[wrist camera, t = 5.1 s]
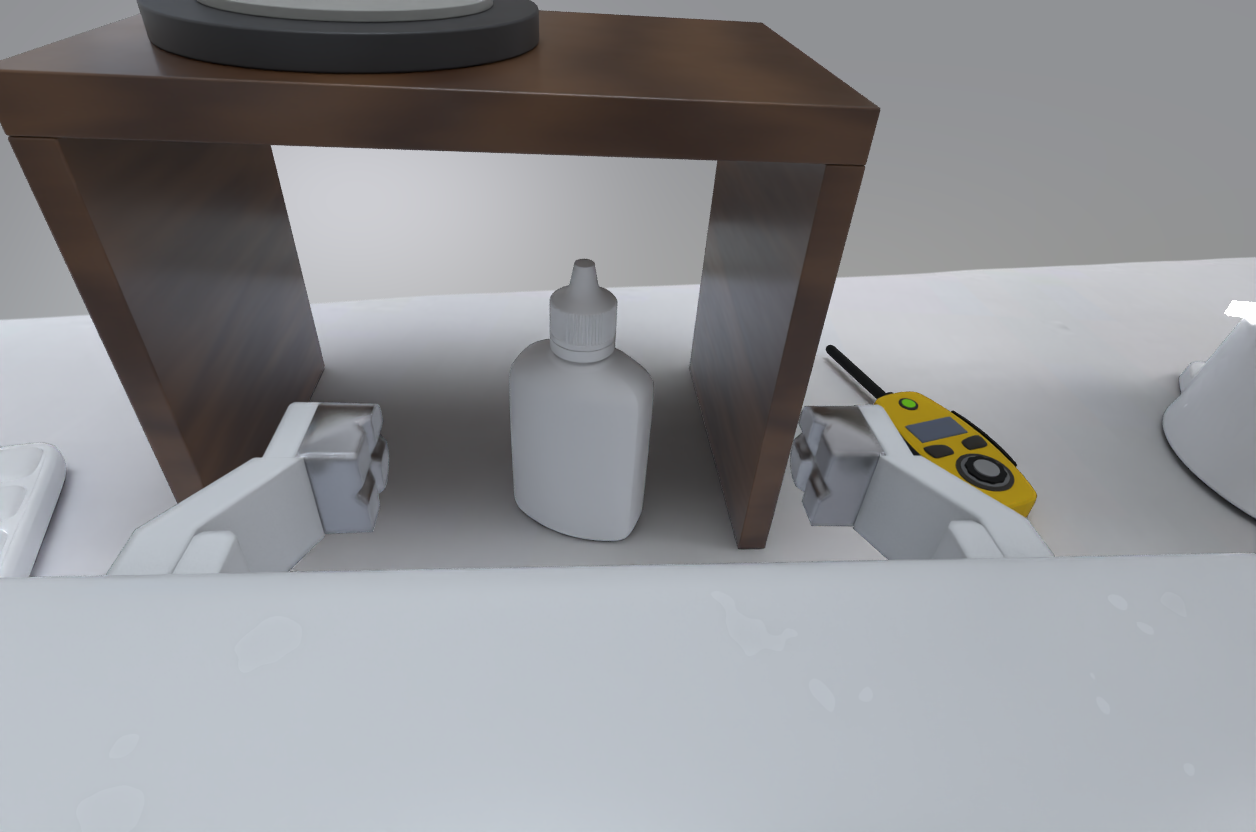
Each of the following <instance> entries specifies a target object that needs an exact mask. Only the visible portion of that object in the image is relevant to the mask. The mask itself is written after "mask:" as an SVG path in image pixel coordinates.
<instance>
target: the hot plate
mask: <svg viewBox="0 0 1256 832" xmlns="http://www.w3.org/2000/svg"><path fill="white" fill-rule="evenodd" d="M137 3H138V6H139V9H140V13H141V16H142V19H143V22H144V25H145V29H146V32H147V35H148V38H149V40H150V41H151V42H152V43H153V44H154V45H156V46H157V47H159V48H161V49H163V50H165V51H167V52H170V53H173V54H176V55H179V56H183V57H187V58H191V59H195V60H199V61H204V62H209V63H215V64H221V65H227V66H235V67H242V68H250V69H261V70H272V71H285V72H302V73H329V74H381V73H408V72H425V71H437V70H448V69H456V68H464V67H472V66H478V65H484V64H489V63H494V62H499V61H503V60H507V59H510V58H513V57H516V56H519V55H522V54H524V53H526V52H528V51H530V50H532V49H533V48H534V47H536V46H537V44H538V42H539V10H538V7H537V5H536V4H535V3H534V2H532V1H530V0H137Z"/></svg>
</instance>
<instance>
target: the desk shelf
mask: <svg viewBox="0 0 1256 832" xmlns="http://www.w3.org/2000/svg"><path fill="white" fill-rule="evenodd" d="M879 113H880V108H879V107H878V106H877V105H875V104H874V103H872V102H871V101H869V100H868V99H867V98H865V97H864V96H863V95H861V94H860V93H858V92H857V91H856V90H854V89H853V88H852V87H850V86H849V85H847V84H846V83H845V82H843V81H842V80H840V79H839V78H838V77H836V76H835V75H834V74H832V73H831V72H829V71H828V70H827V69H825V68H824V67H823V66H821V65H820V64H818V63H817V62H816V61H814V60H813V59H812V58H810V57H809V56H807V55H806V54H805V53H803V52H802V51H800V50H799V49H798V48H796V47H795V46H794V45H792V44H791V43H789V42H788V41H787V40H785V39H784V38H782V37H781V36H780V35H778V34H777V33H776V32H774V31H773V30H771V29H770V28H769V27H767V26H766V25H764V24H763V23H757V22H739V21H721V20H703V19H685V18H666V17H649V16H630V15H613V14H595V13H576V12H559V11H541V10H539V42H538V44H537V46H536V47H534V48H533V49H532V50H530V51H528V52H526V53H524V54H522V55H519V56H516V57H513V58H510V59H507V60H503V61H499V62H494V63H489V64H484V65H478V66H472V67H464V68H456V69H448V70H437V71H425V72H408V73H381V74H329V73H302V72H285V71H272V70H261V69H250V68H242V67H235V66H227V65H221V64H215V63H209V62H204V61H199V60H195V59H191V58H187V57H183V56H179V55H176V54H173V53H170V52H167V51H165V50H163V49H161V48H159V47H157V46H156V45H154V44H153V43H152V42H151V41H150V40H149V38H148V35H147V32H146V29H145V25H144V22H143V19H142V16H141V13H140V14H137V15H134V16H131V17H128V18H125V19H122V20H119V21H116V22H113V23H110V24H107V25H104V26H101V27H99V28H95V29H92V30H89V31H86V32H83V33H80V34H77V35H75V36H72V37H69V38H66V39H63V40H60V41H57V42H54V43H51V44H48V45H45V46H42V47H39V48H36V49H33V50H30V51H27V52H24V53H21V54H18V55H15V56H12V57H9V58H6V59H3V60H0V123H1V126H2V128H3V130H4V132H5V134H6V135H8V136H9V137H8V140H9V142H10V144H11V147H12V149H13V151H14V153H15V155H16V157H17V159H18V162H19V164H20V166H21V168H22V170H23V172H24V175H25V177H26V179H27V181H28V183H29V185H30V187H31V190H32V192H33V194H34V196H35V198H36V200H37V203H38V205H39V207H40V209H41V211H42V213H43V215H44V218H45V220H46V222H47V224H48V226H49V228H50V230H51V232H52V235H53V237H54V239H55V241H56V243H57V245H58V248H59V250H60V252H61V254H62V256H63V258H64V261H65V263H66V265H67V267H68V269H69V271H70V273H71V276H72V278H73V280H74V282H75V284H76V286H77V289H78V291H79V293H80V295H81V297H82V299H83V301H84V303H85V305H86V308H87V310H88V312H89V314H90V316H91V319H92V321H93V323H94V325H95V327H96V329H97V331H98V334H99V336H100V338H101V340H102V342H103V344H104V347H105V349H106V351H107V353H108V355H109V357H110V359H111V362H112V364H113V366H114V368H115V370H116V372H117V374H118V377H119V379H120V381H121V383H122V385H123V387H124V389H125V392H126V394H127V396H128V398H129V400H130V402H131V405H132V407H133V409H134V411H135V413H136V415H137V417H138V420H139V422H140V424H141V426H142V428H143V430H144V432H145V435H146V437H147V439H148V441H149V443H150V445H151V448H152V450H153V452H154V454H155V456H156V458H157V460H158V463H159V465H160V467H161V469H162V471H163V473H164V475H165V478H166V480H167V482H168V484H169V486H170V488H171V490H172V493H173V495H174V497H175V499H176V501H177V503H180V502H182V501H183V500H185V499H187V498H188V497H190V496H191V495H193V494H195V493H196V492H198V491H200V490H201V489H203V488H205V487H206V486H208V485H210V484H211V483H213V482H215V481H216V480H218V479H219V478H221V477H223V476H224V475H226V474H228V473H229V472H231V471H233V470H234V469H236V468H238V467H239V466H241V465H243V464H244V463H246V462H247V461H249V460H251V459H252V458H262V457H263V455H264V453H265V451H266V449H267V447H268V445H269V443H270V441H271V439H272V437H273V435H274V433H275V431H276V429H277V427H278V425H279V423H280V421H281V420H282V418H283V416H284V414H285V412H286V410H287V408H288V406H289V405H290V404H292V403H294V402H309V400H310V397H311V395H312V393H313V391H314V389H315V387H316V385H317V382H318V380H319V378H320V376H321V374H322V372H323V370H324V367H325V365H324V361H323V357H322V353H321V349H320V345H319V340H318V336H317V332H316V328H315V324H314V320H313V316H312V312H311V308H310V304H309V300H308V296H307V292H306V287H305V284H304V279H303V275H302V271H301V267H300V263H299V259H298V255H297V251H296V247H295V243H294V239H293V235H292V231H291V226H290V222H289V218H288V214H287V210H286V206H285V202H284V198H283V194H282V190H281V186H280V181H279V178H278V173H277V169H276V165H275V161H274V157H273V153H272V149H271V145H286V146H315V147H344V148H373V149H401V150H402V149H403V150H430V151H459V152H489V153H516V154H545V155H576V156H603V157H632V158H660V159H661V158H662V159H689V160H717V167H716V174H715V182H714V189H713V197H712V204H711V212H710V219H709V226H708V233H707V241H706V248H705V256H704V263H703V270H702V278H701V285H700V292H699V300H698V307H697V315H696V322H695V329H694V337H693V344H692V351H691V359H690V366H689V369H690V372H691V376H692V380H693V384H694V387H695V391H696V395H697V398H698V402H699V406H700V409H701V413H702V417H703V420H704V424H705V428H706V432H707V435H708V439H709V443H710V446H711V450H712V454H713V457H714V461H715V465H716V468H717V472H718V476H719V480H720V483H721V487H722V491H723V494H724V498H725V502H726V505H727V509H728V513H729V516H730V520H731V524H732V527H733V531H734V535H735V539H736V542H737V546H738V549H751V548H765V545H766V541H767V538H768V534H769V530H770V526H771V522H772V519H773V515H774V511H775V507H776V503H777V500H778V496H779V492H780V488H781V485H782V481H783V477H784V473H785V469H786V466H787V462H788V458H789V454H790V450H791V447H792V443H793V439H794V435H795V432H796V428H797V424H798V420H799V416H800V413H801V409H802V405H803V401H804V398H805V394H806V390H807V386H808V382H809V379H810V375H811V371H812V367H813V363H814V360H815V356H816V352H817V348H818V345H819V341H820V337H821V333H822V329H823V326H824V322H825V318H826V314H827V310H828V307H829V303H830V299H831V295H832V292H833V288H834V284H835V280H836V276H837V273H838V269H839V265H840V261H841V257H842V253H843V250H844V246H845V242H846V239H847V235H848V231H849V227H850V223H851V219H852V216H853V212H854V208H855V205H856V201H857V197H858V193H859V189H860V185H861V181H862V178H863V174H864V170H865V166H864V165H865V164H866V162H867V158H868V155H869V151H870V147H871V143H872V140H873V136H874V132H875V128H876V124H877V120H878V117H879Z"/></svg>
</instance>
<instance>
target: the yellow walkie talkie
mask: <svg viewBox="0 0 1256 832" xmlns="http://www.w3.org/2000/svg"><path fill="white" fill-rule="evenodd" d="M826 352H827V353H828V354H829V355H830V356H831V357H832V358H833V359H834V360H835V361H836V362H837V363H839V364H840V365H841V366H842V367H843V368H844V369H845V370H846V371H847V372H848V373H849V374H850V375H851V376H853V377H854V378H855V379H856V380H857V381H858V382H859V383H860V384H861V385H862V386H863V387H864V388H865V389H867V390H868V391H869V392H870V393H871V394H872V395H873V396H874V397H875V398H876V399H877V400H876V401H875V403H874V405H880V406H881V407H883V408H884V410H885V411H886V413H887V414H888V416H889V418H890V419H891V421H892V422H893V424H894V425H895V427H896V429H897V430H898V432H899V433H900V435H901V436H902V438H903V440H904V441H905V443H906V444H907V446H908V448H909V449H910V451H911V452H912V454H913V455H914V456H922V457H924V458H926V459H927V460H929V461H931V462H932V463H934V464H936V465H937V466H939V467H941V468H942V469H944V470H946V471H948V472H949V473H951V474H953V475H954V476H956V477H958V478H959V479H961V480H963V481H964V482H966V483H968V484H970V485H971V486H973V487H975V488H976V489H978V490H980V491H981V492H983V493H985V494H986V495H988V496H990V497H992V498H993V499H995V500H997V501H998V502H1000V503H1002V504H1003V505H1005V506H1007V507H1008V508H1010V509H1012V510H1014V511H1015V512H1017V513H1019V514H1020V515H1022V516H1024V517H1025V518H1026V517H1027V516H1028V514H1029V512H1030V510H1031V509H1032V507H1033V505H1034V503H1035V501H1036V498H1037V494H1036V492H1035V490H1034V489H1033V487H1032V486H1031V485H1030V483H1029V482H1028V481H1027V480H1026V478H1025V477H1024V476H1023V475H1022V474H1021V472H1020V471H1019V470H1018V469H1017V468H1016V466H1017V464H1016V462H1015V461H1014V460H1013V459H1012V458H1011V457H1010V456H1009V455H1008V454H1007V453H1006V452H1005V451H1004V449H1002V448H1001V447H1000V446H999V445H998V444H997V443H996V442H995V441H994V440H993V439H992V438H990V437H989V436H988V435H987V434H986V433H985V432H983V431H982V430H981V429H979V428H978V427H977V426H975V425H974V424H973V423H971V422H970V421H969V420H967V419H966V418H964V417H963V416H961V415H960V414H958V413H956V412H955V411H951V412H950V411H949V410H947V409H946V408H944V407H942V406H941V405H939V404H938V403H936V402H934V401H933V400H931V399H929V398H927V397H926V396H924V395H922V394H919V393H917V392H899V393H892V392H888V393H885V392H884V391H883V390H882V389H881V388H880V387H879V386H878V385H877V384H875V383H874V382H873V381H872V380H871V379H870V378H869V377H868V376H867V375H866V374H864V373H863V372H862V371H861V370H860V369H859V368H858V367H857V366H856V365H854V364H853V363H852V362H851V361H850V360H849V359H848V358H847V357H846V356H844V355H843V354H842V353H841V352H840V351H839V350H838V349H837V348H836V347H835V346H833V345H828V346H827V347H826Z"/></svg>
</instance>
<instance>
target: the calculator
mask: <svg viewBox="0 0 1256 832" xmlns="http://www.w3.org/2000/svg"><path fill="white" fill-rule="evenodd" d="M65 476H66V462H65V459H64V457H63V456H62V454H61V453H60V451H59V450H58V449H57V448H56V447H55V446H54V445H51V444H47V443H27V444H19V445H11V446H4V447H0V578H4V577H29V576H30V573H31V570H32V568H33V565H34V562H35V559H36V557H37V554H38V551H39V549H40V546H41V543H42V541H43V538H44V535H45V533H46V530H47V527H48V525H49V522H50V519H51V516H52V514H53V511H54V508H55V506H56V503H57V500H58V498H59V495H60V492H61V489H62V487H63V483H64V480H65Z"/></svg>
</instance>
